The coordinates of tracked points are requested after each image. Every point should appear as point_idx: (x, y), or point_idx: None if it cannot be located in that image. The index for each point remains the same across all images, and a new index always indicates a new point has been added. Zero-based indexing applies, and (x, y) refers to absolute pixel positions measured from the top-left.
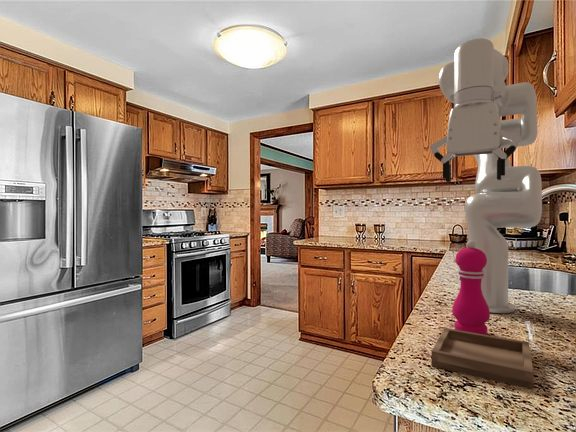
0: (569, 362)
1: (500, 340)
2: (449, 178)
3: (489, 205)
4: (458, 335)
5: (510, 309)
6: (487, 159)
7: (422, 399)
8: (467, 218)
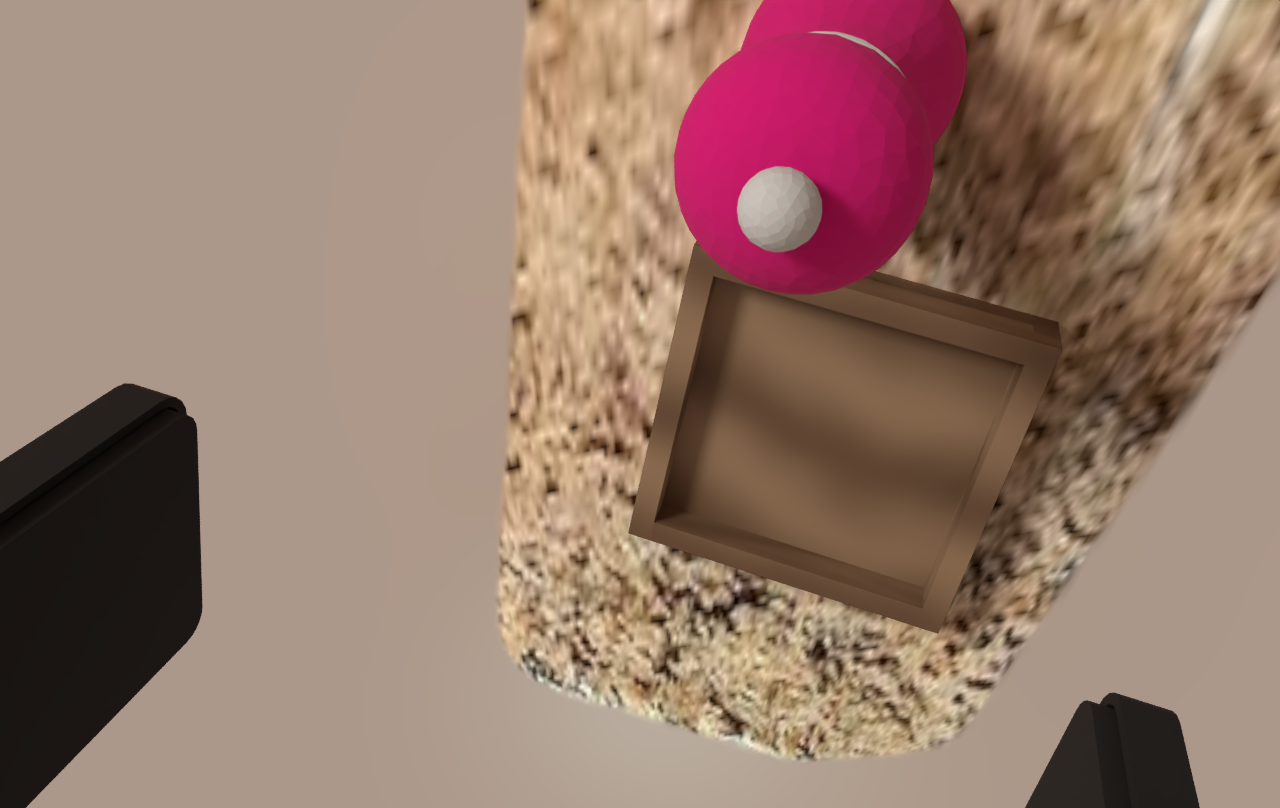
0: (1221, 348)
1: (936, 336)
2: (174, 623)
3: None
4: None
5: None
6: None
7: (618, 687)
8: None
